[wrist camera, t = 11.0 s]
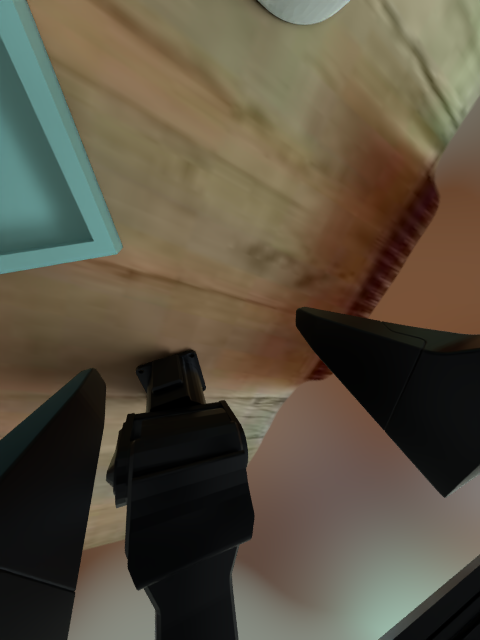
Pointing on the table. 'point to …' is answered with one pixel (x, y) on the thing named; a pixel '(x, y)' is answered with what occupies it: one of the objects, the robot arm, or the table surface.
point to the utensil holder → (303, 9)
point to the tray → (43, 160)
